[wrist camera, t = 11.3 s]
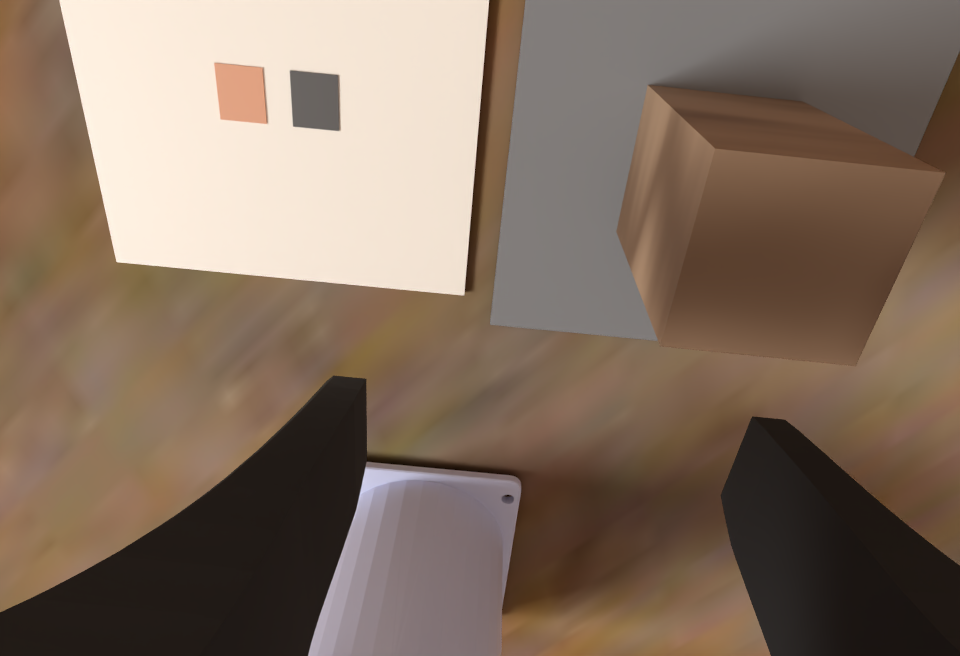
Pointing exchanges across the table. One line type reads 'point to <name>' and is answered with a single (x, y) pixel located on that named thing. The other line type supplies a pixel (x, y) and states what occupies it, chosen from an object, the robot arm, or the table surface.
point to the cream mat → (286, 134)
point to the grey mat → (687, 65)
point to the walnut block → (766, 224)
